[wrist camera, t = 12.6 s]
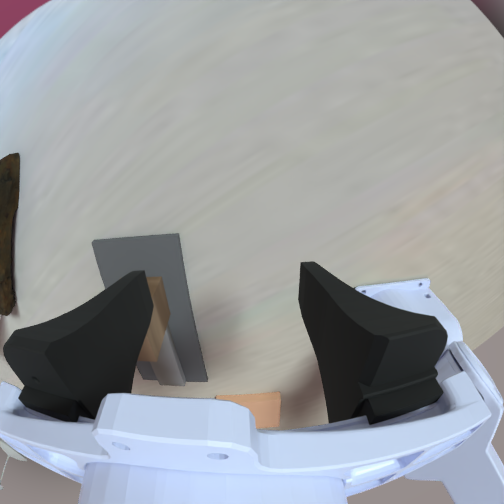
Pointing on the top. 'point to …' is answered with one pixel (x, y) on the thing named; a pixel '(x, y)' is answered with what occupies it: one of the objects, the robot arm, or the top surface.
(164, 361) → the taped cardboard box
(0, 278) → the hand tool
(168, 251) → the tool mat
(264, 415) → the tile
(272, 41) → the top surface
